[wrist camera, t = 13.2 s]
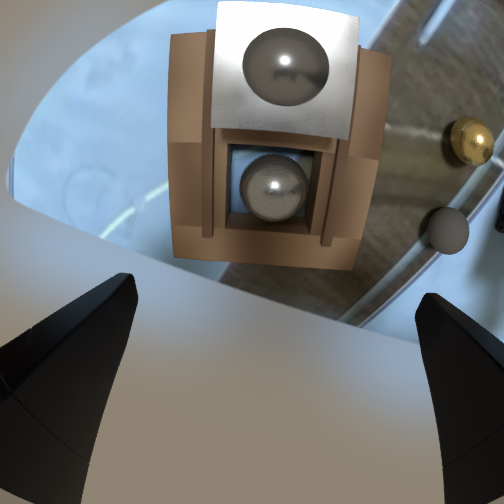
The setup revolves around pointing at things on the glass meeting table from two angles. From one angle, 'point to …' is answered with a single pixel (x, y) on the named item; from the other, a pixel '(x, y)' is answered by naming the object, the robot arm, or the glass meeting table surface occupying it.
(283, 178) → the steel ball
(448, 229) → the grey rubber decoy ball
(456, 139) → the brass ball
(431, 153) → the glass meeting table surface
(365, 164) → the housing plate
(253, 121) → the grey sliding block
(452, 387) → the robot arm
